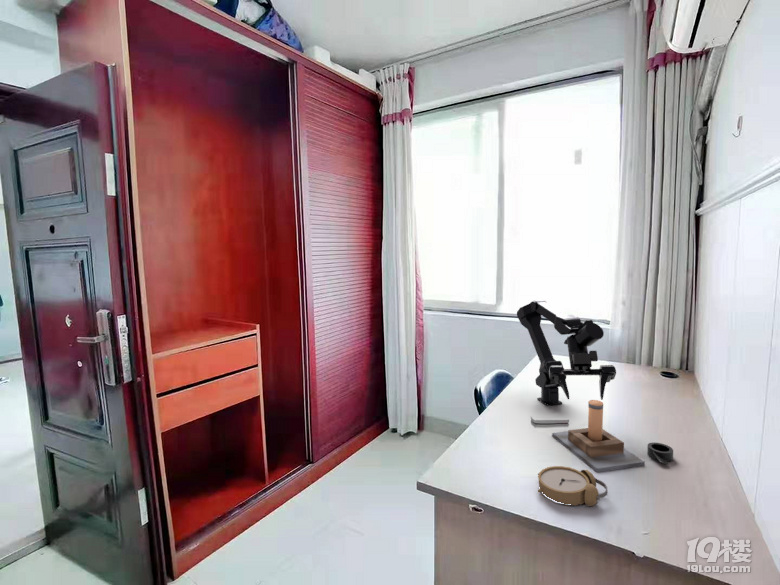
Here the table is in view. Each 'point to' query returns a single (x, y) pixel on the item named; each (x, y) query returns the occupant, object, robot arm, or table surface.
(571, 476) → the alarm clock
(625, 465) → the block
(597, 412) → the terracotta pin
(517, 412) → the table surface
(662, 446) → the black hollow winged cylinder
